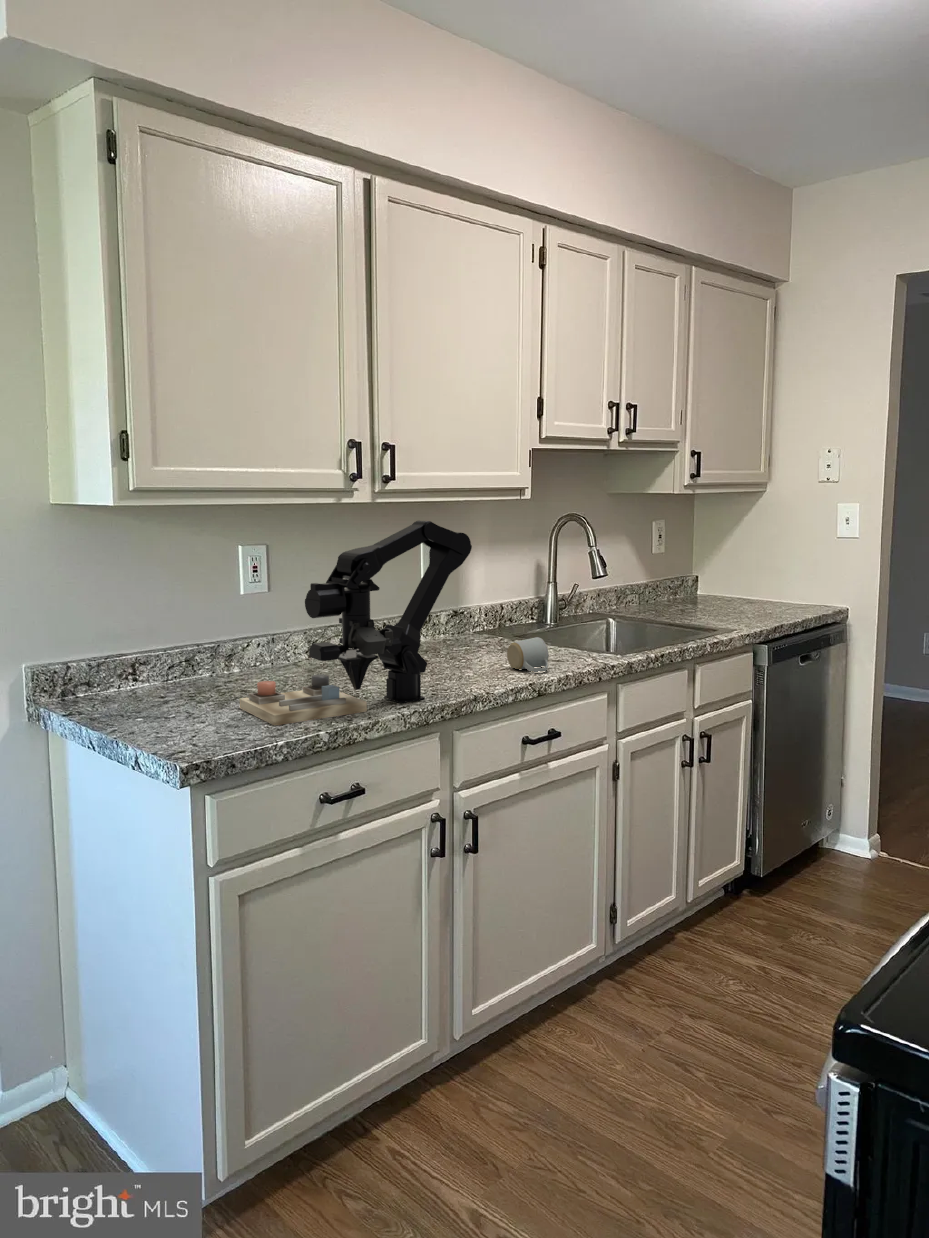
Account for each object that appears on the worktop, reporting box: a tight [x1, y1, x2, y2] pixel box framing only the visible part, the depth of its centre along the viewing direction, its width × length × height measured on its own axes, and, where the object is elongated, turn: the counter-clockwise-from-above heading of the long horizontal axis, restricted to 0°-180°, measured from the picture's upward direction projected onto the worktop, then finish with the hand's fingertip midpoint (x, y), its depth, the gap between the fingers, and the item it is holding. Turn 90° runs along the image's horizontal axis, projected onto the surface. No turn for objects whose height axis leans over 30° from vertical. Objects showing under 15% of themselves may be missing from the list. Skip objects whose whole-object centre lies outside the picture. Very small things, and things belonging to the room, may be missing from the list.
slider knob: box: [322, 684, 340, 700], centre depth 193 cm, size 2×3×3 cm
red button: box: [256, 680, 277, 695], centre depth 195 cm, size 4×4×2 cm
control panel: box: [239, 685, 368, 726], centre depth 195 cm, size 20×17×3 cm
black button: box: [310, 673, 330, 688], centre depth 201 cm, size 4×4×2 cm
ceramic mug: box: [506, 636, 550, 672], centre depth 237 cm, size 11×8×8 cm
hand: (357, 689), depth 197 cm, fingers closed
